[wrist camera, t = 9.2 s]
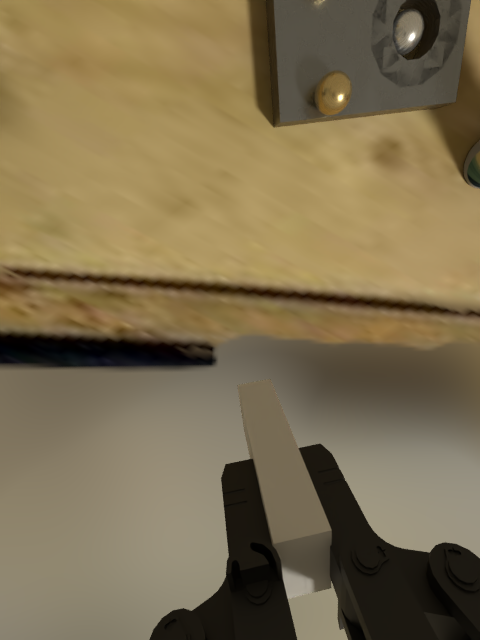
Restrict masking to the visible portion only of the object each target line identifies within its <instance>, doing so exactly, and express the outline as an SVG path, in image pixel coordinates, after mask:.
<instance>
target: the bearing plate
mask: <svg viewBox="0 0 480 640" xmlns="http://www.w3.org/2000/svg"><path fill="white" fill-rule="evenodd" d="M470 3H471V0H266V9H267V25H268V41H269V57H270V73H271V90H272V106H273V122H274V127H281V126H290V125H298V124H307V123H315V122H324V121H332V120H341V119H349V118H357V117H366V116H374V115H383V114H391V113H400V112H408V111H417V110H425V109H434V108H439V107H442V106H445V105H448V104H451V103H454V102H456V97H457V90H458V84H459V77H460V70H461V64H462V57H463V50H464V44H465V37H466V30H467V23H468V17H469V10H470ZM401 9H415V10H418V11H419V12H420V13H421V15H422V16H423V19H424V31H423V34H422V37H421V40H420V47H419V49H418V51H417V53H416V55H415V57H414V59H412V60H407V59H405V58H404V57H402V56H401V55H400V54H398V53H397V50H396V48H395V45H394V42H393V39H392V36H393V22H394V19H395V17H396V15H397V13H398V11H399V10H401ZM334 70H339V71H343V72H345V73H346V74H347V75H348V76H349V78H350V80H351V83H352V95H351V98H350V101H349V103H348V104H347V106H346V107H345V108H344V109H343V110H342V111H341V112H339V113H337V114H335V115H325V114H323V113H322V112H320V111H319V109H318V108H317V106H316V103H315V90H316V87H317V84H318V82H319V81H320V79H321V78H322V77H323V76H324V75H325V74H327V73H328V72H331V71H334Z"/></svg>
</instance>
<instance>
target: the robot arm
mask: <svg viewBox="0 0 480 640" xmlns="http://www.w3.org/2000/svg"><path fill="white" fill-rule="evenodd" d="M238 392H239V399H240V406H241V412H242V418H243V425H244V432H245V436H246V441H247V445H248V450H249V455H250V459H249V460H244V461H239V462H234V463H230V464H226V465H225V468H224V471H223V475H222V477H221V481H222V491H223V501H224V510H225V521H226V531H227V542H228V551H229V558H228V560H227V568H226V569H227V570H226V578H225V580H224V582H223V584H222V586H221V587H220V588H219V590H218V591H217V592H216V593H215V594H214V595H213V596H212V597H211V598H209V599H208V600H206V601H205V602H204V603H202V604H201V605H200V606H198V607H197V608H195V609H194V610H192V611H189V610H187V609H184V608H183V609H178V610H173V611H172V612H170V613H169V614H167V615H166V616H164V617H163V618H162V619H161V621H160V622H159V623H158V625H157V626H156V627H155V628H154V630H153V633H152V635H151V637H150V640H297V637H296V633H295V628H294V624H293V620H292V616H291V611H290V607H289V603H288V599H290V598H294V597H297V596H301V595H305V594H309V593H313V592H317V591H321V590H325V589H329V588H331V581H332V583H333V586H334V589H335V592H336V594H337V597H338V622H339V628H340V630H341V629H345V631H346V634H347V637H348V640H480V558H478V557H477V556H476V555H475V554H473V553H472V552H471V551H470V550H468V549H466V548H463V547H461V546H459V545H457V544H452V543H441V544H438V545H436V546H435V547H434V548H433V549H432V550H431V552H430V553H428V552H422V551H415V550H408V549H402V548H398V547H395V546H393V545H391V544H389V543H387V542H385V541H384V540H383V539H381V538H380V537H378V535H377V534H376V533H375V532H374V531H373V530H372V528H371V527H370V525H369V524H368V522H367V520H366V518H365V516H364V514H363V513H362V511H361V509H360V507H359V505H358V503H357V501H356V500H355V497H354V495H353V494H352V492H351V490H350V488H349V486H348V484H347V482H346V481H345V478H344V476H343V474H342V472H341V470H339V467H338V465H337V463H336V461H335V459H334V457H333V455H332V454H331V453H330V452H329V451H328V450H327V449H326V448H325V447H324V446H323V445H321V444H316V445H311V446H307V447H302V448H298V446H297V444H296V441H295V439H294V436H293V434H292V431H291V429H290V426H289V424H288V422H287V419H286V417H285V414H284V412H283V409H282V407H281V405H280V402H279V399H278V397H277V394H276V392H275V390H274V387H273V385H272V382H271V380H270V379H267V380H262V381H256V382H251V383H246V384H241V385H238Z"/></svg>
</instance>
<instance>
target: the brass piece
mask: <svg viewBox="0 0 480 640" xmlns="http://www.w3.org/2000/svg"><path fill="white" fill-rule="evenodd" d="M351 95H352V83H351V80H350V78H349V76H348V75H347V74H346V73H345V72H343V71H339V70H334V71H331V72H328V73H327V74H325V75H324V76H323V77H322V78H321V79H320V81H319V82H318V84H317V87H316V90H315V103H316V106H317V108H318V109H319V111H320V112H322V113H323V114H325V115H335V114H337V113H339V112H341V111H342V110H343V109H344V108H345V107H346V106H347V104H348V103H349V101H350V98H351Z"/></svg>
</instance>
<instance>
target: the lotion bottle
mask: <svg viewBox="0 0 480 640" xmlns="http://www.w3.org/2000/svg"><path fill="white" fill-rule="evenodd" d="M464 176H465V179H466V181H467V183H468V184H469V185H470V186H472V187H474V188H479V189H480V141H478V142H477V143H476V144H475V145H474V146H473V147H472V149H471V150H470V152H469V153H468V155H467V158H466V160H465V164H464Z"/></svg>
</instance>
